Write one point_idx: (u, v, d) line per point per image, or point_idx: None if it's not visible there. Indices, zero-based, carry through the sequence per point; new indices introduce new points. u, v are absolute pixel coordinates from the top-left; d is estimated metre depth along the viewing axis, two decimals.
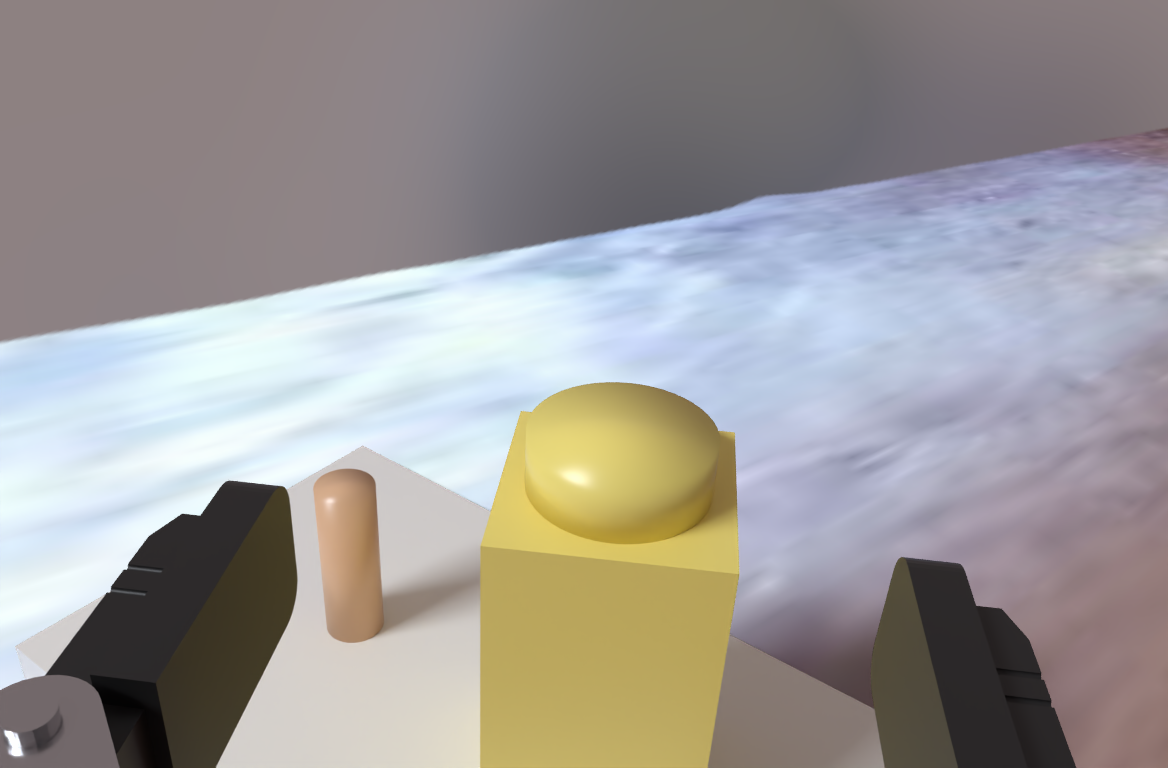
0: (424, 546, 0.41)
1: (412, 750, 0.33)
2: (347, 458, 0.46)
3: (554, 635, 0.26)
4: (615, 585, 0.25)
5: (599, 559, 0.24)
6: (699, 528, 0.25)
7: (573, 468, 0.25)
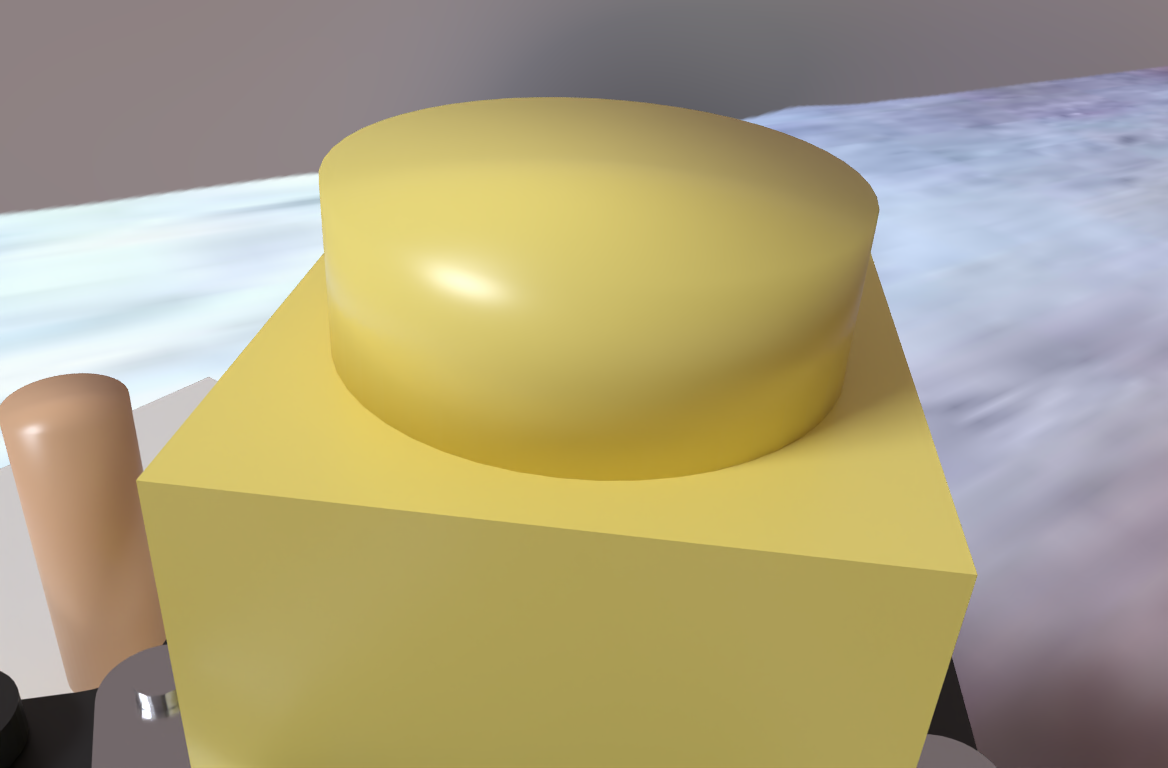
0: None
1: None
2: (180, 394, 0.29)
3: (396, 751, 0.09)
4: (569, 609, 0.08)
5: (516, 526, 0.07)
6: (822, 440, 0.09)
7: (437, 237, 0.08)
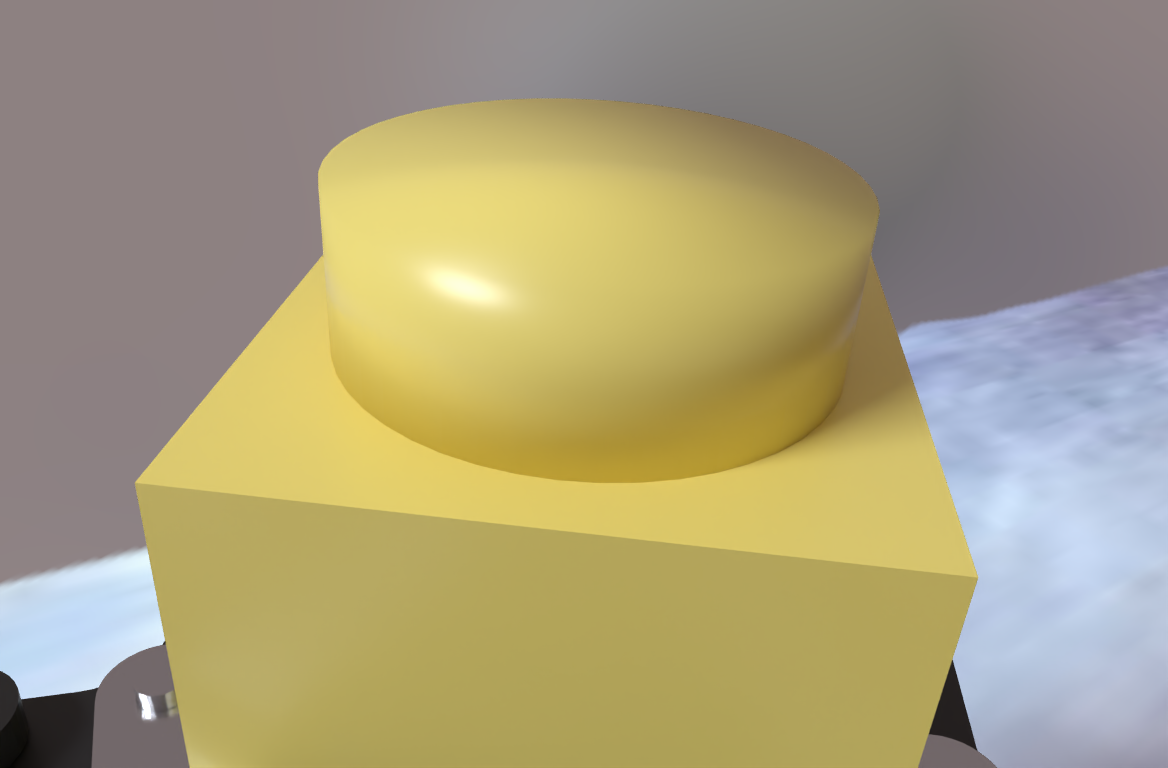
0: None
1: None
2: None
3: (395, 753, 0.09)
4: (569, 611, 0.08)
5: (516, 529, 0.07)
6: (823, 442, 0.09)
7: (436, 238, 0.08)
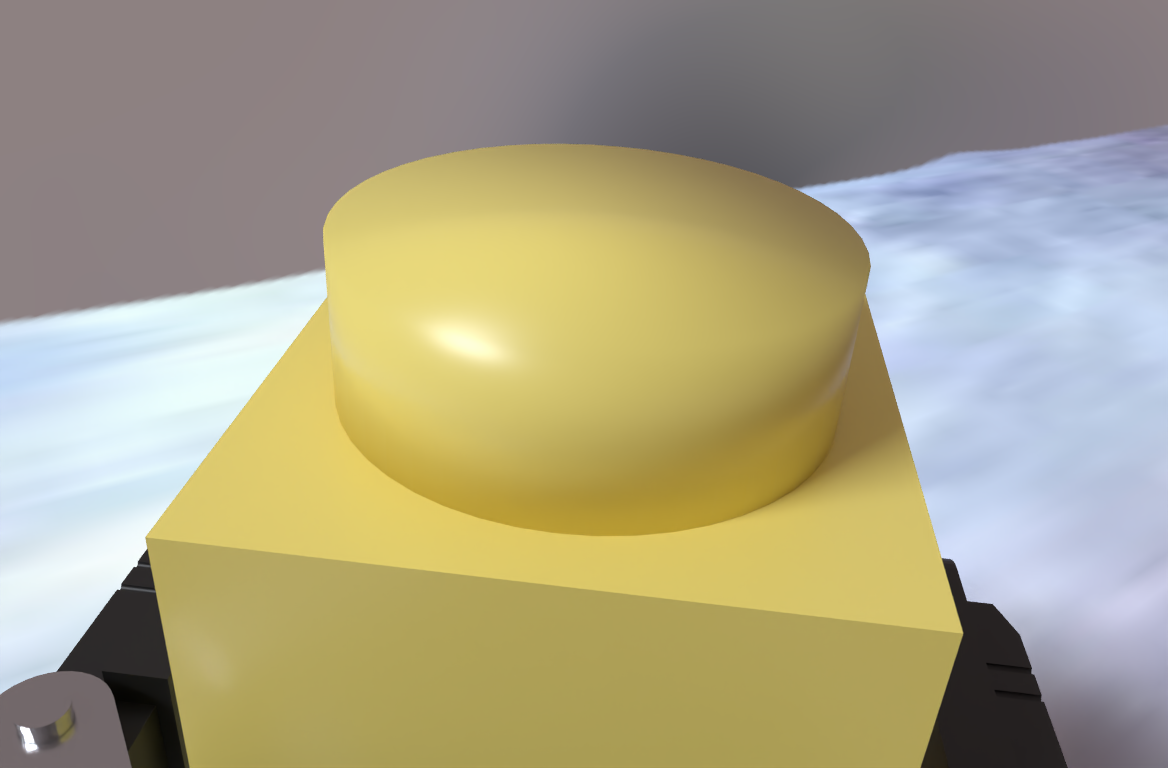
0: None
1: None
2: None
3: None
4: (566, 662, 0.08)
5: (516, 585, 0.08)
6: (815, 492, 0.09)
7: (438, 301, 0.08)
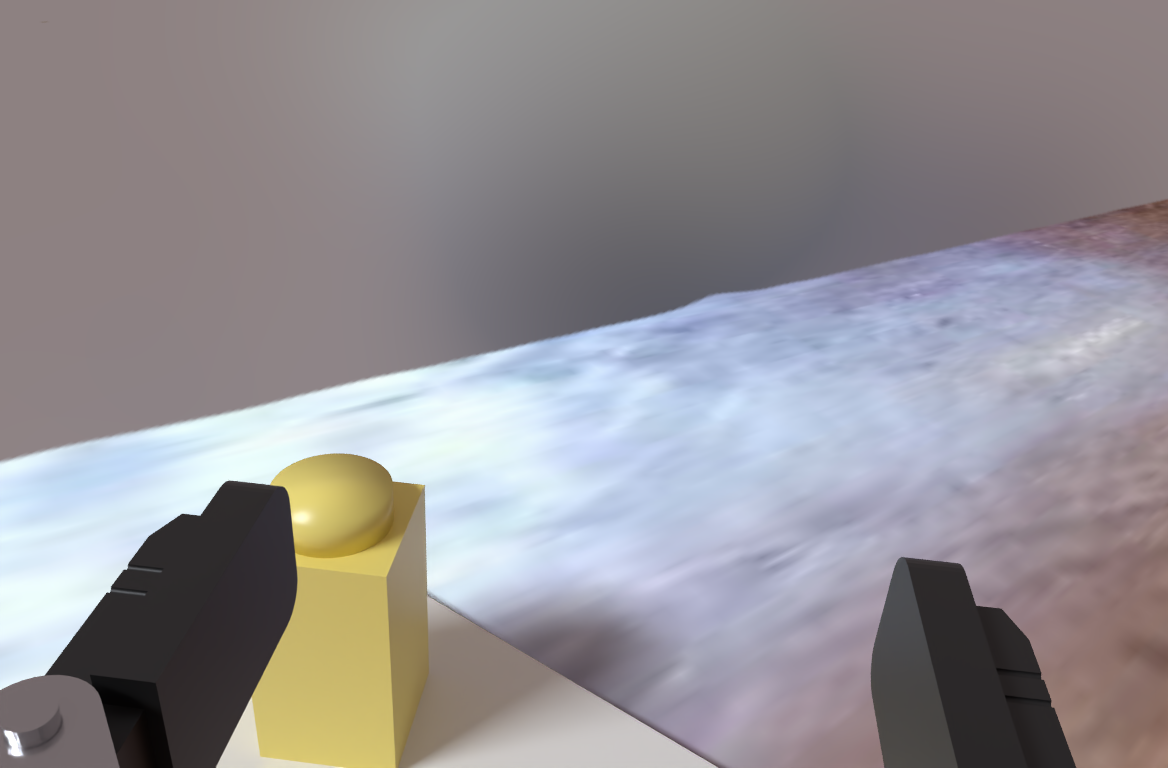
0: None
1: None
2: None
3: None
4: (315, 583, 0.40)
5: (303, 568, 0.40)
6: (374, 548, 0.41)
7: None
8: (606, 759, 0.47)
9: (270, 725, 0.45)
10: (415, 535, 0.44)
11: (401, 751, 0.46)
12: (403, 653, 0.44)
